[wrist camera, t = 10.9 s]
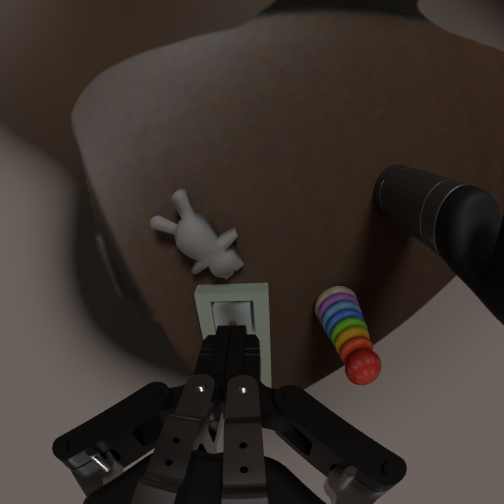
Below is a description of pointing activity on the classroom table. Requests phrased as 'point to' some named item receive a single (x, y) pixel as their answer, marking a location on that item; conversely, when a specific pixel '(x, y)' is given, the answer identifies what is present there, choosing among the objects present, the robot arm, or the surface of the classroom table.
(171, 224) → the bunny figurine
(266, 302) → the number board
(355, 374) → the stacking toy
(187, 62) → the classroom table surface
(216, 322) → the grey block
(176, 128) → the classroom table surface
